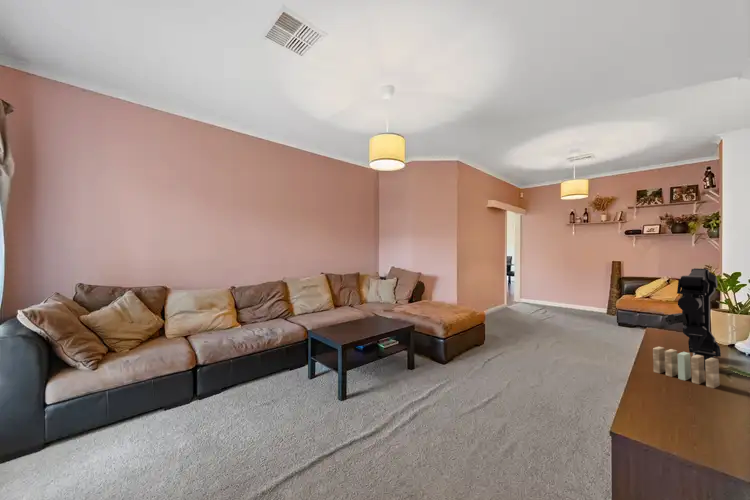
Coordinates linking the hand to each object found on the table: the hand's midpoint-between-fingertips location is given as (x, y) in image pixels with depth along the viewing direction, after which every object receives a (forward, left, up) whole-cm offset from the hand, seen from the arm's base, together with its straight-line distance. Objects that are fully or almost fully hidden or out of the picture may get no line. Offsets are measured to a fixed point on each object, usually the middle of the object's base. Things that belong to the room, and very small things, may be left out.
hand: (694, 348), depth 121 cm
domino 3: (0, -3, -13) cm, 14 cm away
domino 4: (0, +1, -13) cm, 13 cm away
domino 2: (0, -7, -13) cm, 15 cm away
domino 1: (0, -11, -13) cm, 17 cm away
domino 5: (0, +5, -13) cm, 14 cm away
